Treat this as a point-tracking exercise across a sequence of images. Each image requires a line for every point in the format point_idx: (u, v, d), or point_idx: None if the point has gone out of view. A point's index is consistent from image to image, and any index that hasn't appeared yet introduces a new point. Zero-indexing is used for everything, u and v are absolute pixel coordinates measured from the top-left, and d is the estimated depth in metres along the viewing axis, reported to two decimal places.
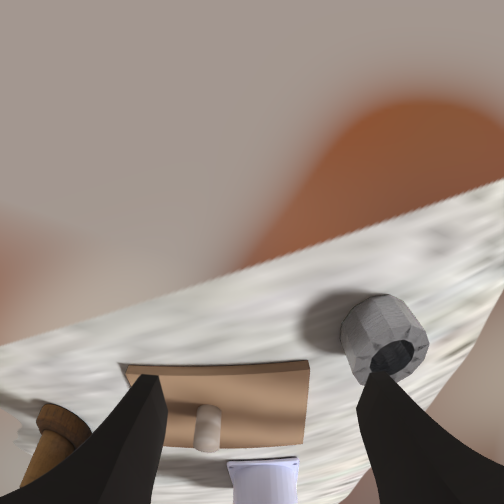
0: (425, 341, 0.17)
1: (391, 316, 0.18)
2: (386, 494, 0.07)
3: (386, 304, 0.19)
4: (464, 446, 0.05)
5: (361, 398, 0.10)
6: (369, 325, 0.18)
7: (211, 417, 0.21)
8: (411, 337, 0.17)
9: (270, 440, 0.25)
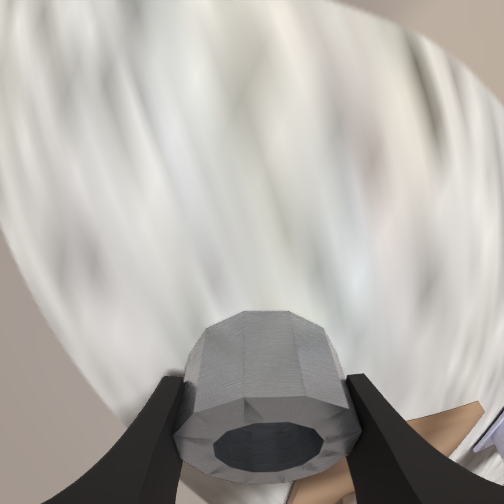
0: (230, 407, 0.07)
1: None
2: (362, 500, 0.07)
3: None
4: (441, 455, 0.05)
5: None
6: None
7: None
8: (209, 433, 0.07)
9: (448, 445, 0.14)
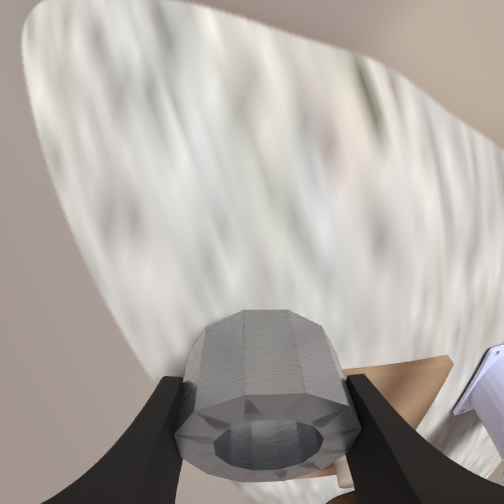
0: (231, 405, 0.07)
1: None
2: (363, 499, 0.07)
3: None
4: (441, 455, 0.05)
5: None
6: None
7: None
8: (210, 431, 0.07)
9: (424, 397, 0.18)
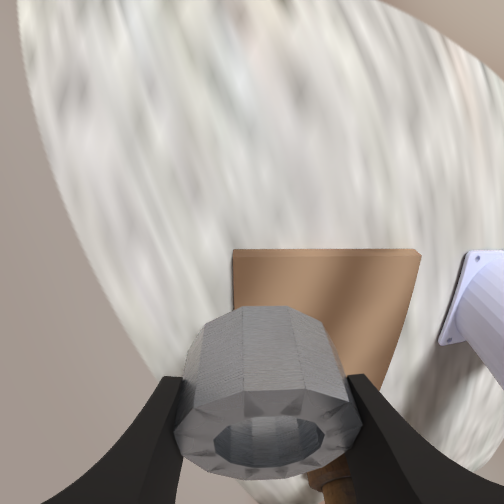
0: (230, 401, 0.07)
1: None
2: (362, 499, 0.07)
3: None
4: (441, 454, 0.05)
5: None
6: None
7: None
8: (209, 428, 0.07)
9: (393, 301, 0.18)
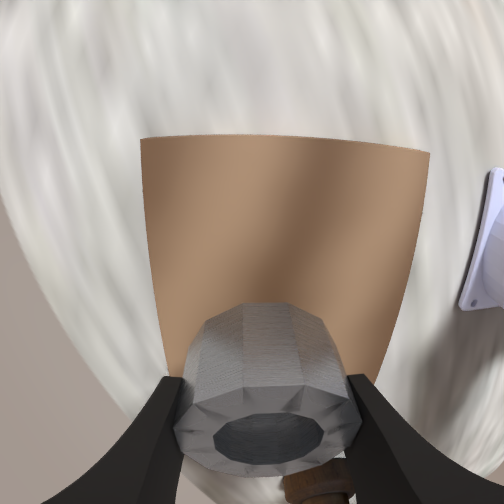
0: (230, 397, 0.07)
1: None
2: (362, 499, 0.07)
3: None
4: (441, 455, 0.05)
5: None
6: None
7: None
8: (209, 425, 0.07)
9: (393, 225, 0.12)
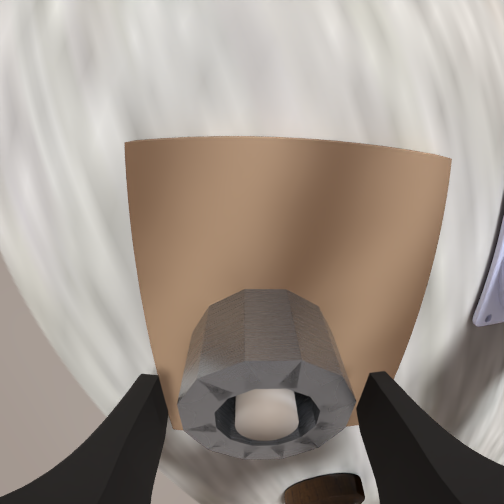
0: (232, 372, 0.08)
1: None
2: (386, 494, 0.07)
3: None
4: (464, 446, 0.05)
5: (361, 398, 0.10)
6: None
7: None
8: (211, 401, 0.08)
9: (411, 239, 0.10)
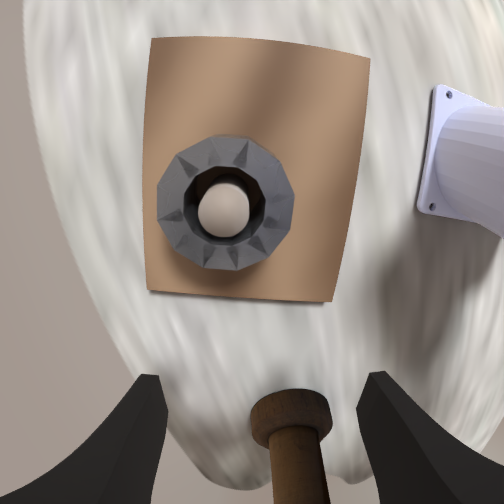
0: (200, 147, 0.11)
1: None
2: (386, 494, 0.07)
3: None
4: (464, 446, 0.05)
5: (361, 398, 0.10)
6: None
7: None
8: (183, 179, 0.12)
9: (342, 109, 0.14)
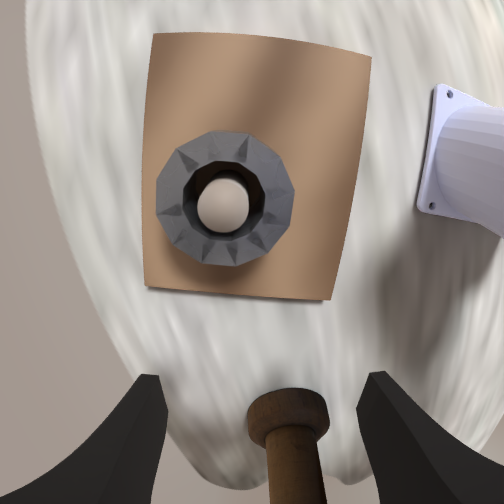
0: (200, 141, 0.11)
1: None
2: (386, 494, 0.07)
3: None
4: (464, 446, 0.05)
5: (361, 398, 0.10)
6: None
7: None
8: (182, 173, 0.11)
9: (342, 106, 0.14)
